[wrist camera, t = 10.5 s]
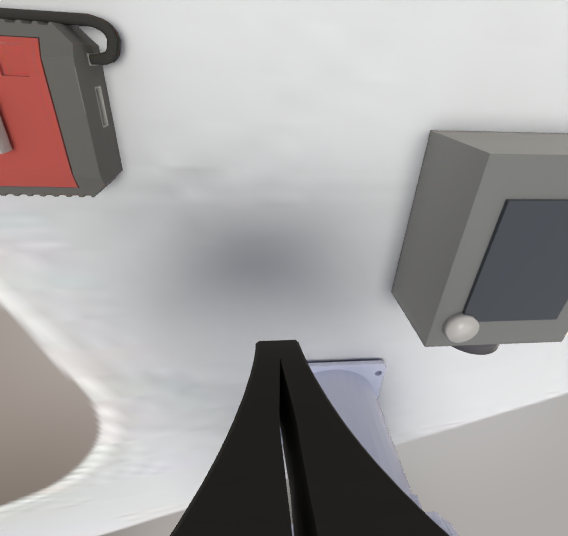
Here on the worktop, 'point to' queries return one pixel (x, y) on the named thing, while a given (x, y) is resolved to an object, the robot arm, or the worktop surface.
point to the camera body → (488, 241)
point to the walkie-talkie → (55, 105)
